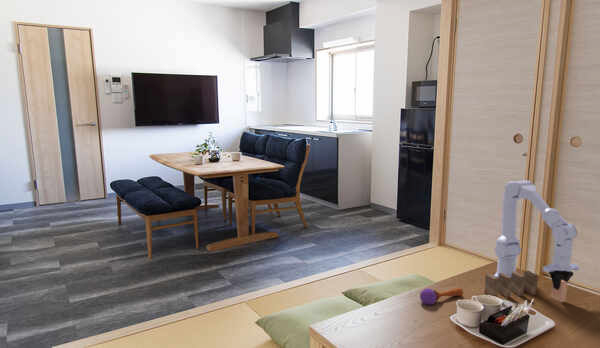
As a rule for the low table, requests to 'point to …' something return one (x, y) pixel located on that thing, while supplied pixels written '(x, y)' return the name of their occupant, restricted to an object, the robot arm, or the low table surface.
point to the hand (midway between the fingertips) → (558, 288)
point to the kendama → (438, 295)
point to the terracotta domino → (559, 292)
